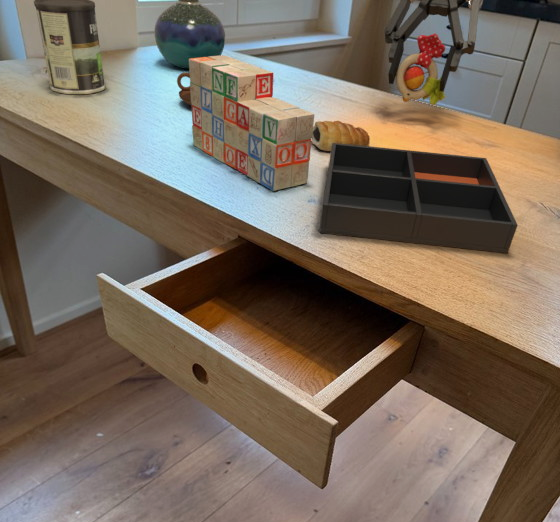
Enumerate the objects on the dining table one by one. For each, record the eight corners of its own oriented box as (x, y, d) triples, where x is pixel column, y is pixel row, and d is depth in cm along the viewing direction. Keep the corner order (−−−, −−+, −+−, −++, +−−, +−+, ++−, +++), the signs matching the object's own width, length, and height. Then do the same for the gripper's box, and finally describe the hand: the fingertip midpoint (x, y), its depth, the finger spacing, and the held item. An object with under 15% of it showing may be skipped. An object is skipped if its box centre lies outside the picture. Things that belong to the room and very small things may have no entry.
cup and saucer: (190, 116, 99) (189, 78, 95) (171, 98, 107) (169, 61, 103) (253, 112, 103) (254, 75, 99) (231, 95, 111) (231, 60, 107)
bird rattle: (407, 119, 100) (458, 99, 98) (392, 53, 93) (446, 30, 91) (400, 109, 105) (448, 90, 103) (385, 46, 98) (437, 24, 96)
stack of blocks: (308, 184, 79) (317, 88, 71) (273, 193, 76) (278, 93, 68) (225, 138, 91) (225, 53, 83) (191, 144, 88) (187, 56, 80)
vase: (198, 56, 136) (196, -10, 128) (239, 69, 128) (239, 0, 119) (143, 62, 128) (137, -8, 119) (182, 77, 120) (179, 3, 111)
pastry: (360, 138, 95) (363, 115, 93) (375, 153, 90) (379, 128, 88) (307, 140, 93) (309, 115, 91) (319, 154, 88) (322, 129, 86)
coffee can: (105, 81, 114) (94, -2, 105) (106, 95, 106) (94, 6, 97) (51, 80, 112) (35, -5, 102) (48, 95, 104) (31, 4, 95)
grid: (479, 182, 83) (486, 158, 81) (507, 253, 66) (517, 224, 64) (329, 167, 84) (332, 142, 82) (319, 232, 67) (322, 204, 65)
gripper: (511, -14, 99) (475, 105, 98) (394, -26, 104) (359, 87, 103) (519, -51, 92) (480, 77, 90) (393, -61, 97) (355, 59, 96)
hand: (416, 82), depth 97 cm, fingers closed on bird rattle, 8 cm apart
